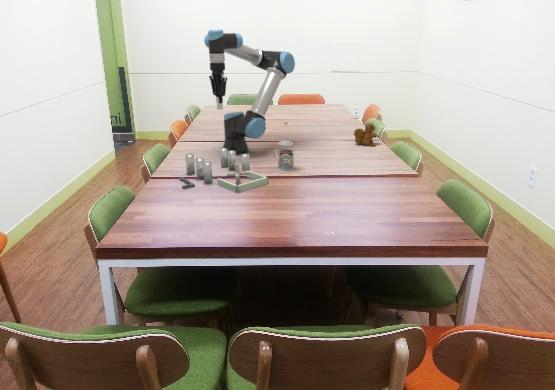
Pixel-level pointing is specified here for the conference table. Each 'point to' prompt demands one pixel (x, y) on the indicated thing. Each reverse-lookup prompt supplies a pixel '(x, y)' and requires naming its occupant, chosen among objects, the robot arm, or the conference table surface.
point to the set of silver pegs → (206, 167)
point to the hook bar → (189, 184)
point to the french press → (285, 157)
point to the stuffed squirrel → (365, 136)
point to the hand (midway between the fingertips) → (219, 109)
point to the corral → (257, 182)
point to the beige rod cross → (237, 173)
